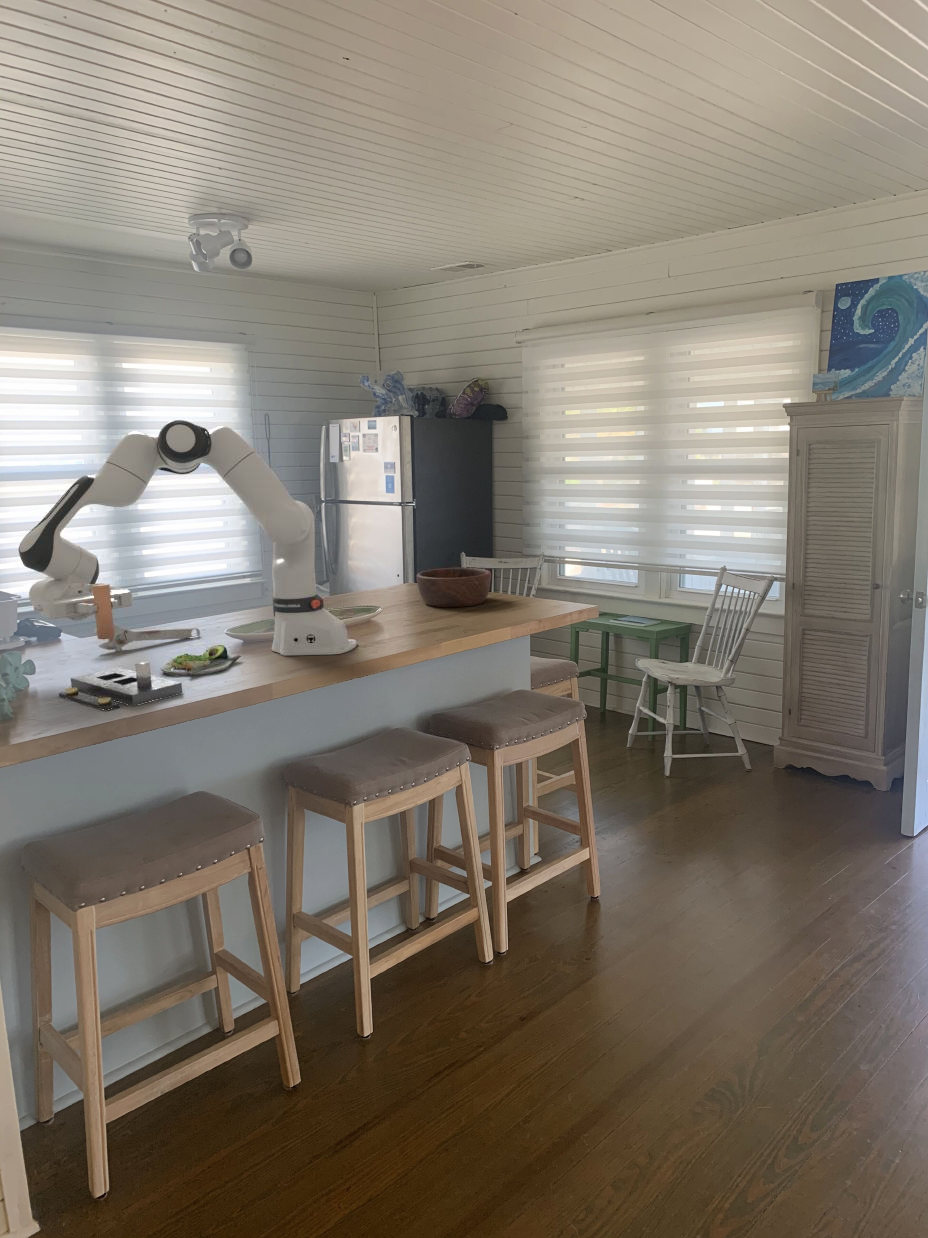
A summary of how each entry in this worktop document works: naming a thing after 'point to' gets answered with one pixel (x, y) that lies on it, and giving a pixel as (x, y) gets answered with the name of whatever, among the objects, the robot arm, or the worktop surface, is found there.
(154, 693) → the hole plate
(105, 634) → the dowel
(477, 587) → the wooden bowl
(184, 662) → the salad plate
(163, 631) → the wrench
